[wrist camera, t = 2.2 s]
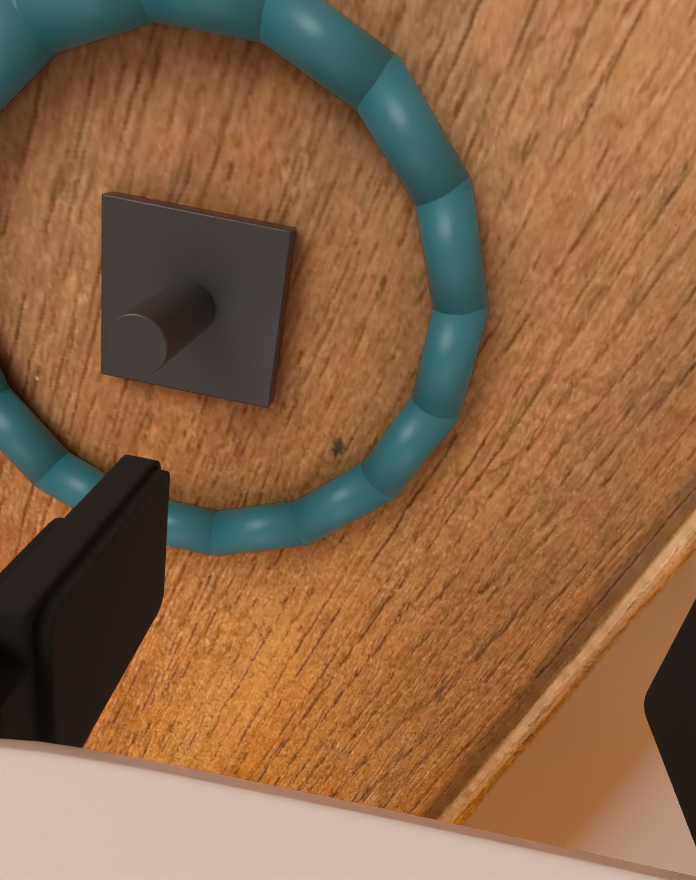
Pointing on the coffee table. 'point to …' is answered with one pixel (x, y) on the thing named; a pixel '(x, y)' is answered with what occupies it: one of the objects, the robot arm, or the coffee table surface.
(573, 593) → the coffee table surface
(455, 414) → the ring
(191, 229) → the post
